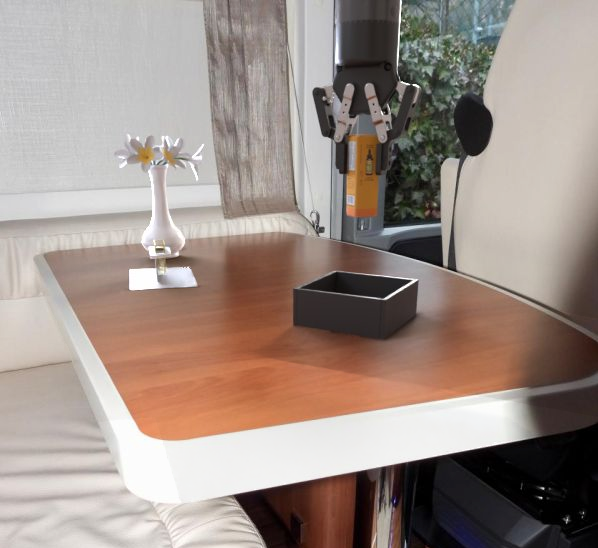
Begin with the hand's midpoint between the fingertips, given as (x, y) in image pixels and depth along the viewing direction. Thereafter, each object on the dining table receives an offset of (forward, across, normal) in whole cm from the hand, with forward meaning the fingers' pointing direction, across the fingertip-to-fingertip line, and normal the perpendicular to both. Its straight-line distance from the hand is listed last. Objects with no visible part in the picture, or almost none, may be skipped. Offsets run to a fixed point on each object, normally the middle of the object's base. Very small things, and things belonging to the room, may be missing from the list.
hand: (362, 173), depth 82 cm
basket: (+21, 0, 0) cm, 21 cm away
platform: (+21, +46, -14) cm, 53 cm away
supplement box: (+6, 0, 0) cm, 6 cm away
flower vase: (+21, +59, -32) cm, 71 cm away
